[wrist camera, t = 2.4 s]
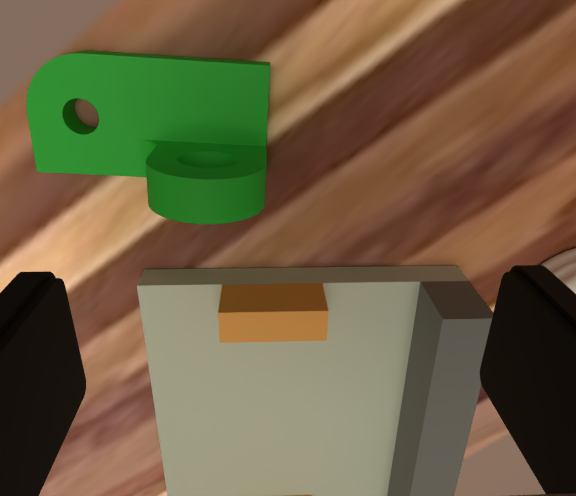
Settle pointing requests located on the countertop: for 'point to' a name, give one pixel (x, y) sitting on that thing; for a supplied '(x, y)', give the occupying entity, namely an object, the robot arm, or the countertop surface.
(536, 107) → the countertop surface
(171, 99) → the mechanical part
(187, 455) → the deck plate
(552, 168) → the countertop surface
